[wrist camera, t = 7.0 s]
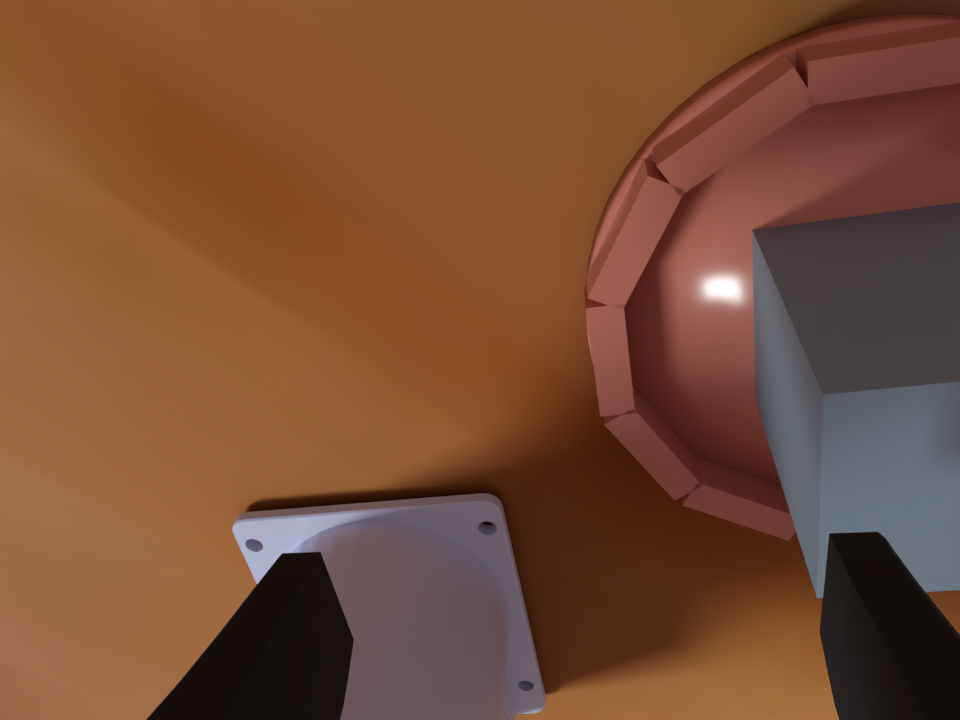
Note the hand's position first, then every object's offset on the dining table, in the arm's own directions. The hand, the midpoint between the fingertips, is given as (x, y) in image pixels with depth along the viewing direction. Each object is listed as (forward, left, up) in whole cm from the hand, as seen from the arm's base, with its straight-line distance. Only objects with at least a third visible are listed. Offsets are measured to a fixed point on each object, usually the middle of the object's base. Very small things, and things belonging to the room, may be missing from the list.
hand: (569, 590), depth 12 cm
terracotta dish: (-1, -6, -9) cm, 11 cm away
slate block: (-1, -6, -8) cm, 10 cm away
